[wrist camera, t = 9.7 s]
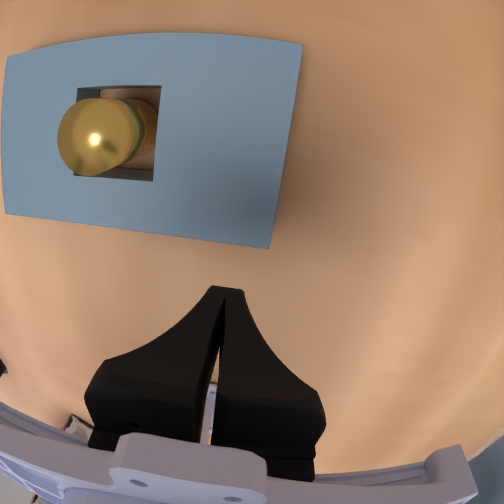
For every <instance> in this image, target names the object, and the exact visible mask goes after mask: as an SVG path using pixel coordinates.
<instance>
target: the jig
mask: <svg viewBox="0 0 504 504" xmlns="http://www.w3.org/2000/svg"><path fill="white" fill-rule="evenodd" d="M302 50H303V45H301V44H296V43H291V42H285V41H278V40H272V39H265V38H257V37H249V36H239V35H227V34H212V33H141V34H127V35H115V36H106V37H98V38H90V39H84V40H77V41H72V42H66V43H61V44H56V45H51V46H46V47H42V48H38V49H34V50H30V51H26V52H22V53H19V54H15V55H12V56H8V57H7V62H6V69H5V76H4V85H3V96H2V111H1V171H2V186H3V197H4V207H5V214H10V215H18V216H26V217H34V218H41V219H49V220H57V221H64V222H72V223H80V224H87V225H95V226H102V227H110V228H117V229H125V230H132V231H140V232H147V233H155V234H162V235H170V236H177V237H184V238H192V239H199V240H206V241H214V242H221V243H228V244H235V245H243V246H250V247H257V248H264V249H269V247H270V241H271V236H272V230H273V225H274V219H275V213H276V208H277V202H278V196H279V190H280V185H281V179H282V173H283V167H284V161H285V155H286V150H287V144H288V138H289V132H290V126H291V119H292V113H293V107H294V101H295V95H296V89H297V82H298V76H299V70H300V63H301V57H302ZM118 88H161V96H160V105H159V114H158V124H157V134H156V146H155V159H154V171H151V170H139V169H126V168H111V169H109V170H107V171H104V172H102V173H100V174H97V175H94V176H82V175H79V174H77V173H75V172H73V171H72V170H70V169H69V168H68V167H67V166H66V164H65V163H64V162H63V160H62V158H61V156H60V153H59V150H58V144H57V134H58V128H59V125H60V122H61V120H62V118H63V116H64V114H65V113H66V111H67V110H68V109H69V108H70V107H71V106H72V105H74V104H75V103H77V102H79V101H81V100H84V99H89V98H99V91H100V89H118Z"/></svg>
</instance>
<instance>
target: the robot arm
mask: <svg viewBox="0 0 504 504" xmlns="http://www.w3.org/2000/svg"><path fill="white" fill-rule="evenodd" d="M219 347H220V350H219ZM218 351H219V377H218V383H217V385H216V384H210V381H211V377H212V373H213V369H214V366H215V362H216V358H217V354H218ZM213 391H214V392H213ZM84 400H85V404H86V406H87V409H88V411H89V414H90V416H91V418H92V420H93V423H94V425H95V426H94V428H93V431H92V433H91V436H90V438H89V440H86V439H84V438H81V437H78V436H75V435H73V434H70V433H67V432H65V431H62V430H60V429H57V428H55V427H52V426H50V425H48V424H45V423H43V422H41V421H39V420H36V419H34V418H32V417H30V416H28V415H26V414H23V413H21V412H19V411H17V410H15V409H13V408H11V407H10V406H8V405H6V404H4V403H2V402H0V472H1V473H3V474H4V475H6V476H7V477H9V478H10V479H12V480H13V481H15V482H17V483H18V484H20V485H22V486H23V487H25V488H27V489H28V490H30V491H32V492H33V493H35V494H37V495H39V496H40V497H42V498H44V499H46V500H48V501H50V502H52V503H54V504H464V503H465V502H467V501H468V500H470V499H471V498H473V497H474V496H476V495H477V494H478V490H477V487H476V484H475V482H474V479H473V476H472V473H471V470H470V468H469V465H468V462H467V460H466V457H465V455H464V452H463V450H462V447H461V445H459V444H458V445H454V446H450V447H446V448H442V449H439V450H436V451H435V452H433V453H432V454H430V455H429V456H428V457H427V458H426V459H425V461H423V462H418V463H413V464H407V465H402V466H396V467H390V468H383V469H375V470H367V471H358V472H346V473H332V474H315V471H314V461H313V459H314V458H315V456H316V452H315V445H316V443H317V442H318V440H319V438H320V437H321V435H322V433H323V432H324V430H325V427H326V417H325V412H324V409H323V406H322V403H321V400H320V397H319V395H318V392H317V391H316V390H314V389H313V388H311V387H310V386H309V385H307V384H306V383H305V382H303V381H302V380H300V379H299V378H298V377H297V376H296V375H295V374H293V373H292V372H291V371H290V370H289V369H288V368H287V367H286V366H285V365H284V364H283V363H282V362H281V361H280V360H279V359H278V357H277V356H276V355H275V354H274V352H273V351H272V350H271V348H270V347H269V346H268V344H267V343H266V341H265V340H264V338H263V337H262V335H261V333H260V331H259V330H258V328H257V326H256V324H255V322H254V320H253V318H252V315H251V313H250V311H249V308H248V305H247V302H246V299H245V294H244V291H243V290H242V289H234V288H227V287H220V286H213V285H212V286H211V287H209V289H208V290H207V292H206V293H205V295H204V296H203V297H202V298H201V300H200V301H199V302H198V303H197V304H196V305H195V306H194V307H193V309H192V310H191V311H190V312H189V313H188V314H187V315H185V316H184V317H183V318H182V319H181V320H180V321H179V322H178V323H177V324H175V325H174V326H173V327H172V328H170V329H169V330H168V331H166V332H165V333H164V334H162V335H161V336H159V337H157V338H156V339H154V340H153V341H151V342H149V343H148V344H146V345H144V346H142V347H140V348H137V349H135V350H133V351H131V352H128V353H125V354H123V355H120V356H117V357H114V358H111V359H107V360H104V361H103V363H102V364H101V366H100V367H99V368H98V370H97V371H96V373H95V374H94V376H93V378H92V380H91V382H90V384H89V386H88V388H87V390H86V392H85V395H84ZM209 434H212V436H211V444H210V445H207V444H208V437H209Z"/></svg>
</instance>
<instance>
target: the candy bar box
mask: <svg viewBox="0 0 504 504" xmlns="http://www.w3.org/2000/svg"><path fill="white" fill-rule="evenodd" d="M93 428H94V427H92V426H90V425H89V424H87V423H85V422H84V421H82V420H80V419H79V418H77V417H75V416H74V415H71V416H70V417H69V419H68V421H67V422H66V424H65V426H64V428H63V429H62V431H65V432H67V433H70V434H73V435H75V436H78V437H81V438H84V439H86V440H89V438H90V436H91V433H92V431H93ZM30 504H54V503H52V502H50V501H48V500H46V499H44V498H42V497H40V496H39V495H37V494H35V493H34V494H33V497H32V500H31V503H30Z"/></svg>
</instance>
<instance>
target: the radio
mask: <svg viewBox="0 0 504 504" xmlns="http://www.w3.org/2000/svg"><path fill="white" fill-rule="evenodd" d="M3 373H5V374H7V369H6V367H5V365H4V364H3V362H2V361H1V359H0V377H1V375H2V374H3Z"/></svg>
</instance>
